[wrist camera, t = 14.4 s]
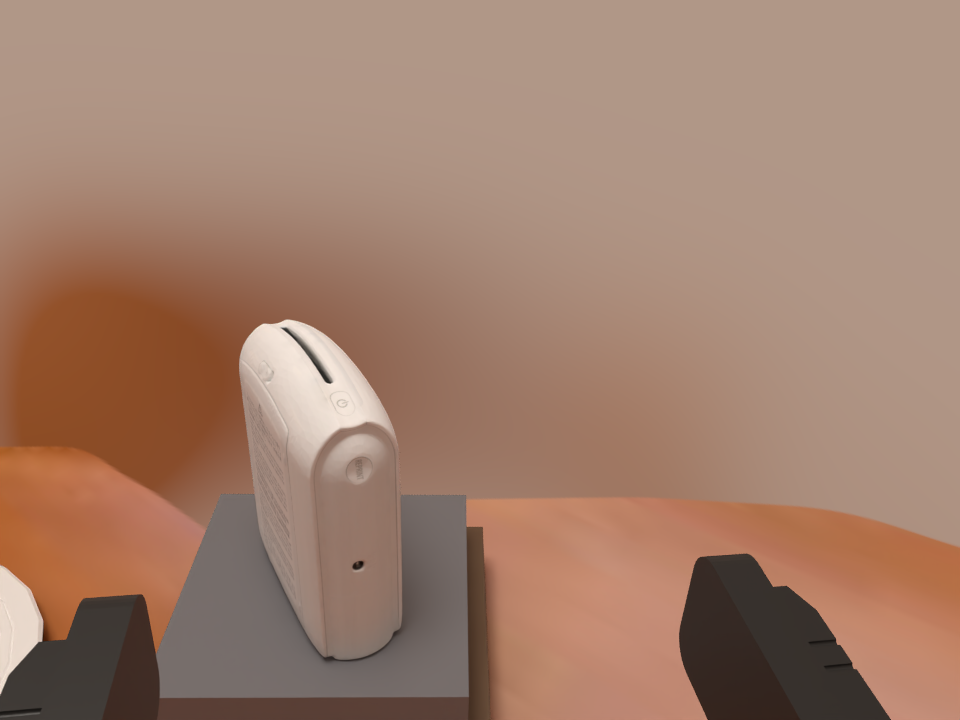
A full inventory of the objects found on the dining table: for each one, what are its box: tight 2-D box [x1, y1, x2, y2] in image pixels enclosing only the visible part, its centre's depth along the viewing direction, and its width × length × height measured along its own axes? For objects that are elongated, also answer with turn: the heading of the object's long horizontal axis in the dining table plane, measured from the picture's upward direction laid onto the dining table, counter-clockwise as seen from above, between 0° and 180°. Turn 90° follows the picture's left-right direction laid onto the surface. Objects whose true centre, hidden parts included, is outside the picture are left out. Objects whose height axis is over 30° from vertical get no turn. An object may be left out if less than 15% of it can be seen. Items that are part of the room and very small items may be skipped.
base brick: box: [466, 527, 490, 720], centre depth 41 cm, size 15×15×3 cm
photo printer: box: [239, 320, 402, 660], centre depth 36 cm, size 10×4×12 cm, turn 29°
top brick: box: [156, 494, 469, 720], centre depth 39 cm, size 13×13×3 cm
